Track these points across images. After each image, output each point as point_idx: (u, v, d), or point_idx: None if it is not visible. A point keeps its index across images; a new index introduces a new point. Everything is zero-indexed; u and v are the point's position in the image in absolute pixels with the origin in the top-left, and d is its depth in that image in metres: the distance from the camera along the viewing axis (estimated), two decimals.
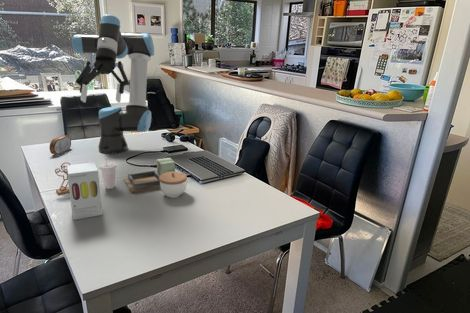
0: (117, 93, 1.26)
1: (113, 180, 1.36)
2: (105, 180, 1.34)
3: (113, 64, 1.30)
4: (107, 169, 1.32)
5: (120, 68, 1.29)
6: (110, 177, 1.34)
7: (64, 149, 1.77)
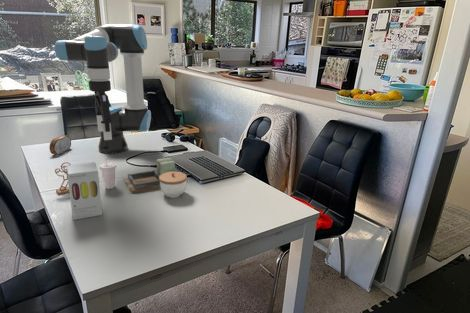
0: (103, 133, 1.23)
1: (113, 180, 1.36)
2: (105, 180, 1.34)
3: (100, 98, 1.22)
4: (107, 169, 1.32)
5: (101, 104, 1.20)
6: (110, 177, 1.34)
7: (64, 149, 1.77)
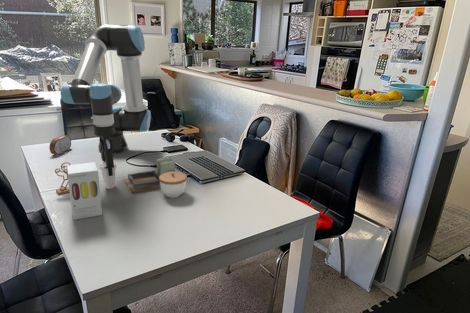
0: (107, 177, 1.32)
1: None
2: (105, 180, 1.34)
3: (104, 143, 1.28)
4: None
5: (105, 151, 1.27)
6: None
7: (64, 149, 1.77)
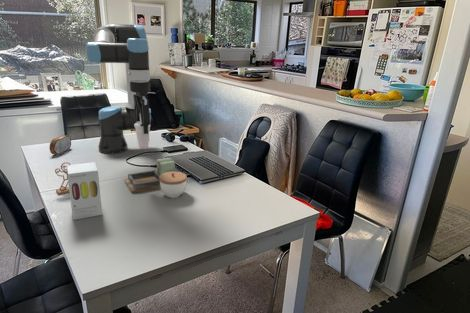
0: (142, 135, 1.31)
1: None
2: (139, 139, 1.33)
3: (140, 99, 1.26)
4: None
5: (142, 108, 1.25)
6: None
7: (64, 149, 1.77)
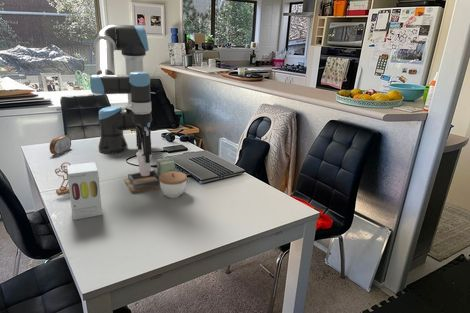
0: None
1: None
2: (141, 167, 1.37)
3: (142, 130, 1.30)
4: None
5: (144, 139, 1.29)
6: None
7: (64, 149, 1.77)
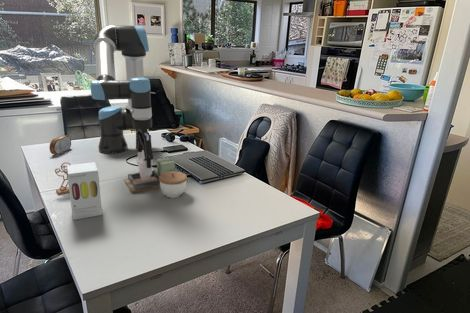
0: (145, 169, 1.34)
1: None
2: (142, 175, 1.38)
3: (143, 135, 1.31)
4: (144, 164, 1.36)
5: (144, 143, 1.29)
6: None
7: (64, 149, 1.77)
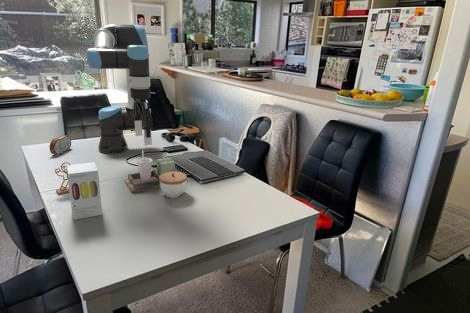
0: (144, 139, 1.29)
1: (149, 174, 1.39)
2: (142, 175, 1.38)
3: (141, 105, 1.27)
4: (144, 164, 1.35)
5: (143, 111, 1.25)
6: (147, 172, 1.38)
7: (64, 149, 1.77)
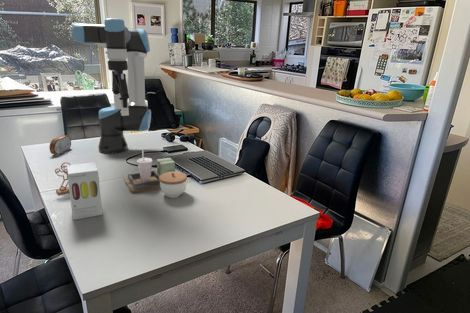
0: (121, 109, 1.34)
1: (149, 174, 1.39)
2: (142, 175, 1.38)
3: (118, 76, 1.32)
4: (144, 164, 1.35)
5: (119, 82, 1.30)
6: (147, 172, 1.38)
7: (64, 149, 1.77)
